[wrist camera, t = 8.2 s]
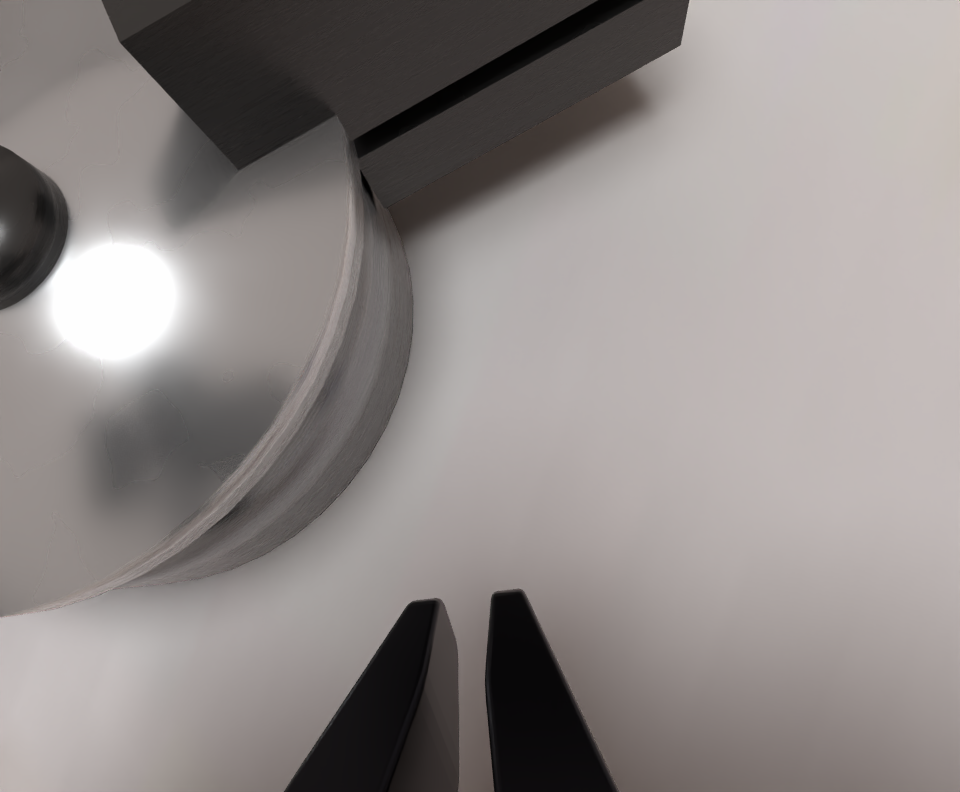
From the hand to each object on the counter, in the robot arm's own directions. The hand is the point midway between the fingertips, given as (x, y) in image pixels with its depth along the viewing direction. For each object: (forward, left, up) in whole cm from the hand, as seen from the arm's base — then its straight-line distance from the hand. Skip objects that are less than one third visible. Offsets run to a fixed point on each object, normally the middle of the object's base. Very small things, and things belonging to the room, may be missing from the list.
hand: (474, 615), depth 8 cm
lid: (+3, +10, -2) cm, 11 cm away
